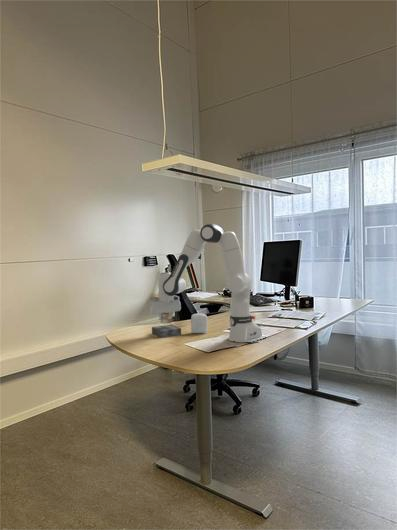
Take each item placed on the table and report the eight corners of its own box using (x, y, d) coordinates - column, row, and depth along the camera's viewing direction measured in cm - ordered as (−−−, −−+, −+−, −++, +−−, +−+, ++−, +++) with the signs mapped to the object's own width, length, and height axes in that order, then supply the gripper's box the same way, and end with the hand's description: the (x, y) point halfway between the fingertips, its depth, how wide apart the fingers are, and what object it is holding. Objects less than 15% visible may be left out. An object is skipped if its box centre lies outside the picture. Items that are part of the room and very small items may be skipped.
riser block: (171, 330, 234) (171, 324, 234) (181, 334, 222) (180, 328, 222) (152, 333, 228) (151, 327, 227) (160, 337, 215) (160, 331, 215)
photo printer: (207, 332, 228) (207, 312, 227) (207, 333, 223) (206, 314, 223) (191, 332, 229) (191, 313, 228) (191, 333, 224) (190, 314, 224)
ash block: (167, 321, 228) (167, 312, 228) (171, 322, 223) (170, 313, 223) (160, 322, 225) (160, 313, 225) (163, 323, 221) (163, 314, 221)
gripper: (151, 299, 216) (152, 322, 217) (181, 296, 226) (182, 318, 226) (147, 298, 221) (148, 320, 222) (177, 295, 231) (178, 316, 232)
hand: (165, 319), depth 224 cm, fingers closed on ash block, 5 cm apart
